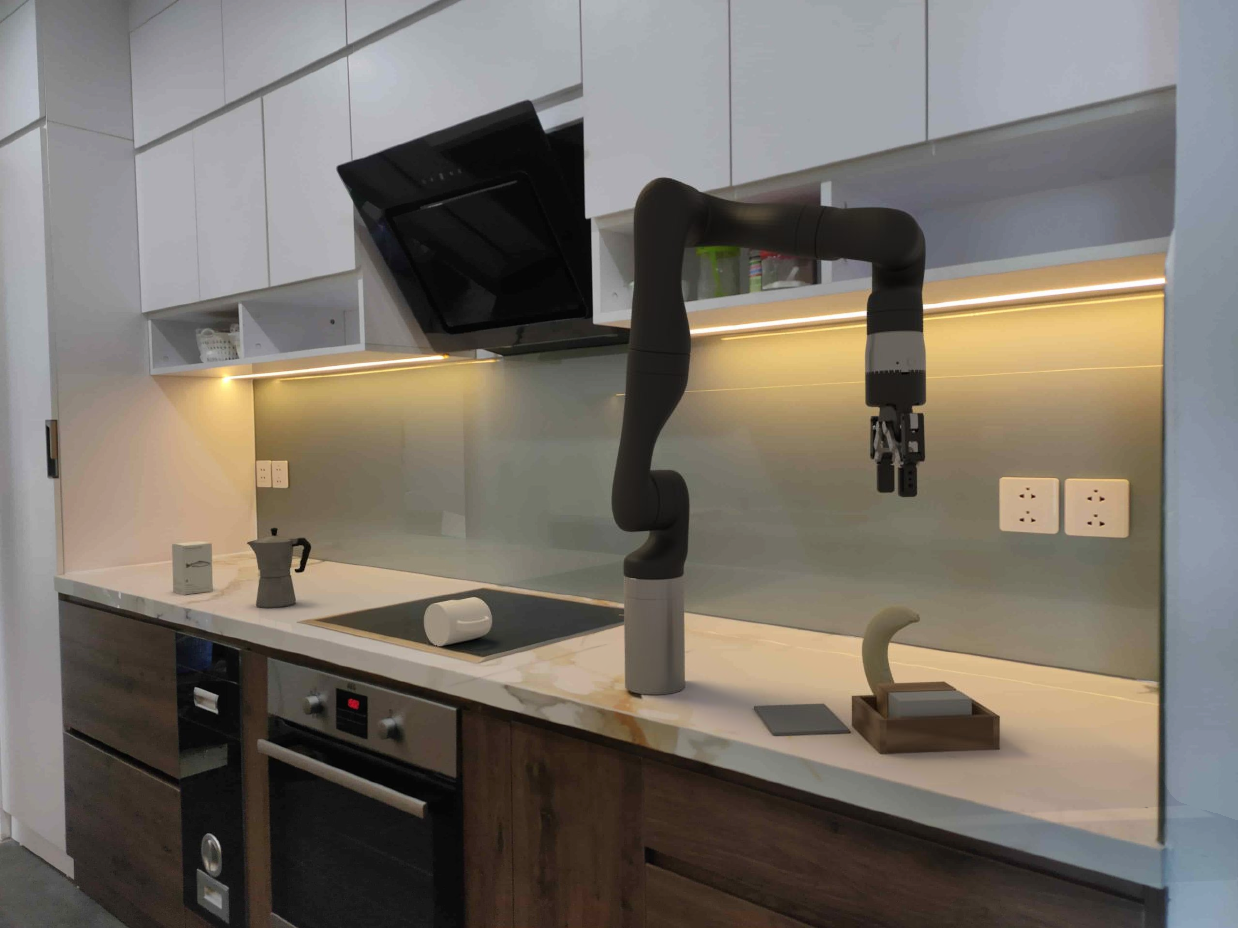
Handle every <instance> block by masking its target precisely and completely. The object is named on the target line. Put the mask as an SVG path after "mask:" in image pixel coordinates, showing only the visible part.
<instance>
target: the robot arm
mask: <svg viewBox="0 0 1238 928" xmlns="http://www.w3.org/2000/svg"><path fill="white" fill-rule="evenodd" d="M926 245H927V244H926V238H925V235H924V232H923V230H922V228H921V226H920V225H919V224H918V222H917V221H916V219H915V217H913V216H912V215H911V214H910V213H908V212H906V211H904V210H901V209H897V208H892V207H891V208H890V207H882V206H877V207H876V206H875V207H874V206H869V207H868V206H865V207H848V208H843V207H837V206H828V205H823V204H822V205H820V204H811V203H800V202H799V203H798V202H767V203H765V202H764V203H762V202H761V203H756V202H755V203H754V202H753V203H752V202H741V201H740V202H739V201H735V200H729V199H725V198H722V197H719V196H714V195H711V194H708V193H705V192H701V191H699V190H698V189H697V188H696V187H693V186H692V185H690V184H687V183H684V182H682V181H680V180H676V179H674V178H671V177H661V176H660V177H658V178H657V177H656V178H655V179H652V180H650V181H649V182H648V183H646V184H645V185H644V187H643V188H642V189H641V191H640V192H639V194H638V196H637V199H636V201H635V205H634V210H633V256H634V257H633V261H634V262H633V266H634V271H633V272H634V273H633V292H632V301H631V313H630V314H631V316H630V330H629V339H628V347H627V358H626V371H625V373H626V375H625V394H624V395H625V396H624V403H623V404H624V406H623V415H622V416H623V417H622V424H621V425H622V426H621V432H620V439H619V444H618V445H619V446H618V452H617V456H616V457H617V458H616V462H615V469H614V474H613V480H612V486H611V511H612V515H613V520H614V522H615V524H616V526H617V527H618V528H619V529H620V530H622V531H623V532H627V533H639V532H648V533H649V534H648V538H647V539H646V540H645V542H644V543H643V544H642V545H641V546H640V547H639V548H637V549H635V550H634V551H632V552H630V553H628V554H627V555H626V556H625V558H624V560H623V564H622V565H623V568H622V569H623V610H624V611H623V614H624V615H623V620H624V622H623V623H624V624H623V625H624V626H623V630H624V634H623V635H624V637H623V638H624V687H625V689H626V690H627V691H629V692H631V693H636V694H641V695H656V696H657V695H668V694H669V695H670V694H675V693H677V692H680V691H682V690H683V689H685V688H686V667H685V666H686V650H685V649H686V648H685V647H686V645H685V644H686V643H685V642H686V641H685V640H686V639H685V632H686V631H685V572H684V571H685V564H686V560H687V557H688V552H689V529H690V506H691V505H690V494H689V489H688V485H687V483H686V481H685V478H684V477H683V476H682V474H681V473H679V472H678V471H676V470H674V469H651V467H652V462H653V454H654V451H655V446H656V443H657V441H658V438H659V436H660V434H661V432H662V430H663V428H664V427H665V425H666V423H668V420H670V418H671V416H672V414H673V413H674V412H675V410H676V408H677V407H678V405H679V403H680V402H681V400H682V398H683V396H684V394H685V392H686V389H687V386H688V382H689V374H690V373H689V372H690V361H691V353H692V352H691V350H692V337H691V328H690V323H689V319H688V313H687V310H686V309H687V308H686V304H685V300H684V299H685V298H684V294H683V284H682V283H683V281H682V279H683V278H682V276H683V265H684V258H685V257H684V256H685V249H691V248H707V247H708V248H709V247H711V248H713V247H728V248H729V247H731V248H743V249H750V250H756V251H761V252H767V253H772V254H776V255H782V256H787V257H793V258H794V257H795V258H802V259H809V260H817V261H822V262H823V261H824V262H835V261H839V260H841V259H845V260H851V261H852V260H853V261H860V262H867V263H871V293H870V294H869V295H868V298H867V303H866V341H865V342H866V343H865V348H864V349H865V350H864V389H865V391H864V394H865V399H864V400H865V406H867V407H868V408H879V413H878V415H871V416H870V420H869V422H870V423H869V424H870V427H869V429H870V430H869V431H870V433H869V435H870V438H869V440H870V441H869V442H870V443H869V444H870V445H869V447H870V449H869V457H870V460H873V462H874V464H875V465H876V491H877V493H880V494H887V493H888V494H891V493H893V492H894V493H895V486H896V485H895V476H896V475H895V463H897V495H898V497H901V498H915V497H916V496H917V495H918V468H917V467H919V466H920V465H921V462H925V460H926V443H925V442H926V441H925V416H924V413H923V412H914V409H913V407H921V406H924V405H925V404H926V403H927V357H926V356H927V355H926V353H927V352H926V344H925V343H926V342H925V335H924V334H925V333H924V301H923V289H924V288H923V287H924V280H925V270H926V260H927V258H926V257H927V256H926V255H927V253H926V251H927V250H926V249H927V248H926V247H927V246H926Z"/></svg>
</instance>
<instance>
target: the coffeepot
mask: <svg viewBox="0 0 1238 928" xmlns="http://www.w3.org/2000/svg"><path fill="white" fill-rule="evenodd" d="M270 533H271V535H269V536H267V537H262V538H257V539H253V540H250V541H247V542H246V545H248V546H250V547H251V549H252V552H254V554H255V558H256V562H257V563H256V564H257V568H258V569H257V570H258V571H259V576H260V577H259V579H258V587H257V595H256V600H255V606H256V607H257V608H262V609H263V608H268V609H269V608H271V609H272V608H273V609H274V608H281V607H288V606H293V605H295V604H296V601H297V600H296V593H295V589H294V583H293V578H292V575H291V569H292V565H293V555H294V547H299V546H302V547H303V549H302V553H301V554H302V555H301V559H300V561H299V568H294V573H297V574H299V573H303V572H305V570H306V566H307V563H308V559H309V556H310V552H311V550H312V544H311V543H310V541H308V540H307V539H306V538H305V537H287V536H281V535H278V528H277V527H272V528H270Z"/></svg>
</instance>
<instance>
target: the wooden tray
mask: <svg viewBox="0 0 1238 928" xmlns="http://www.w3.org/2000/svg"><path fill="white" fill-rule="evenodd" d="M962 693H963V694H965V693H964V692H962ZM967 696H968V695H967ZM968 697H970V696H968ZM970 698H971V697H970ZM971 699H972V715H958V716H930V717H902V718H883V717H882V716H881V715H880V714H879V713H877V695H873V694H865V695H864V694H863V695H861V694H860V695H851V726H852V728H853V729H855V731H856V732H857V733H858V734H859V735H860V736H861V737H863V739H865V740H866V742H867V743H868V744H870V745H871V746H872V747H873V749H875V750H876V751H877V752H878V753H879V755H880V754H882V755H883V754H902V753H903V754H904V753H908V754H909V753H929V752H930V753H932V752H934V753H935V752H958V751H960V752H961V751H981V750H982V751H983V750H986V751H987V750H1000V748H1001V743H1000V742H1001V741H1000V739H1001V738H1000V737H1001V732H1000V731H1001V729H1000V726H1001V722H1000V721H1001V719H1000V718H1001V716H1000V715H998V714H997V713H996V712H994V711H992V710H991V709H989V708H988V707H986V706H984V705H983V704H981V703H980V702H978V701H977V700H975V699H973V698H971Z"/></svg>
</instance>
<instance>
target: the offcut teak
mask: <svg viewBox="0 0 1238 928" xmlns="http://www.w3.org/2000/svg"><path fill="white" fill-rule="evenodd" d="M953 690H958V689H957V688H955V687H954V686H952V685H951V684H949V683H948V682H946V681H922V682H921V681H919V682H918V681H917V682H915V681H913V682H895V683H882V684H877V713H879V714H880V715H881V716H882V717H883V718H889V693H893V692H923V691H953Z"/></svg>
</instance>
